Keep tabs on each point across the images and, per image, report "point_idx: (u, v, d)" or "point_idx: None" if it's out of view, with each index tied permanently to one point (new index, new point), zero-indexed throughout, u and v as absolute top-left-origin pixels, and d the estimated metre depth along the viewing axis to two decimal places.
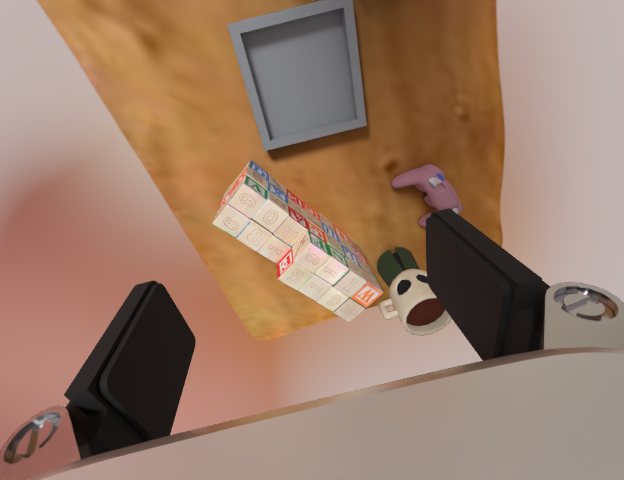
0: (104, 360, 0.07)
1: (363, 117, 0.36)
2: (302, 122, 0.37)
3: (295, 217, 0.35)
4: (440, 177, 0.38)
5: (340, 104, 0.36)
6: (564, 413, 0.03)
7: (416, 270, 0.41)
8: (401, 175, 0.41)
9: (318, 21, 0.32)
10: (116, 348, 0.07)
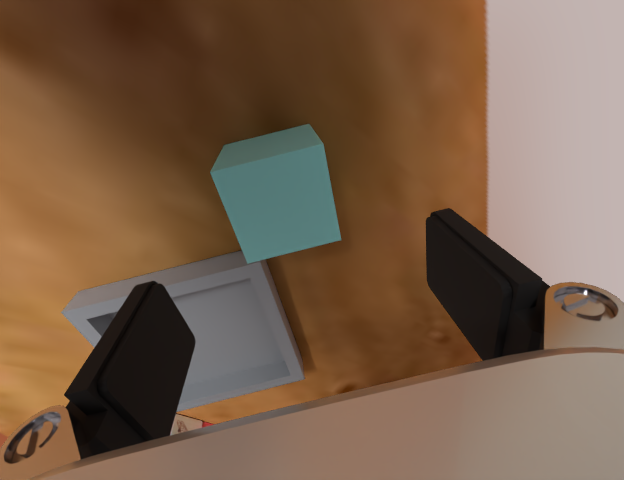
0: (104, 360, 0.07)
1: (298, 373, 0.25)
2: (214, 371, 0.26)
3: None
4: None
5: (266, 350, 0.25)
6: (564, 413, 0.03)
7: None
8: None
9: None
10: (116, 348, 0.07)
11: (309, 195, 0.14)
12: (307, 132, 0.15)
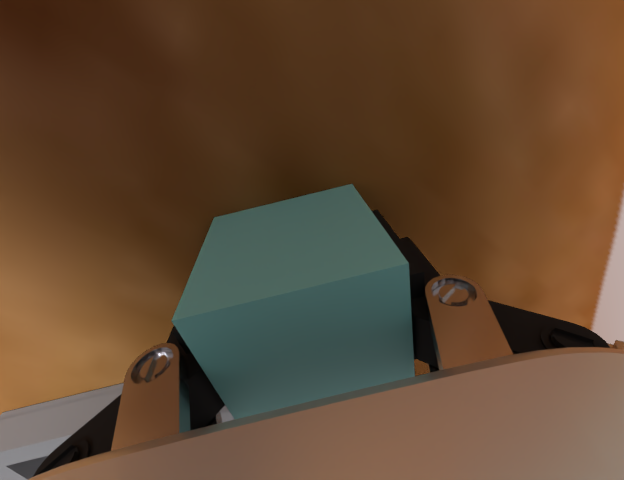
0: None
1: None
2: None
3: None
4: None
5: None
6: (565, 413, 0.03)
7: None
8: None
9: None
10: None
11: (367, 345, 0.07)
12: (357, 210, 0.08)
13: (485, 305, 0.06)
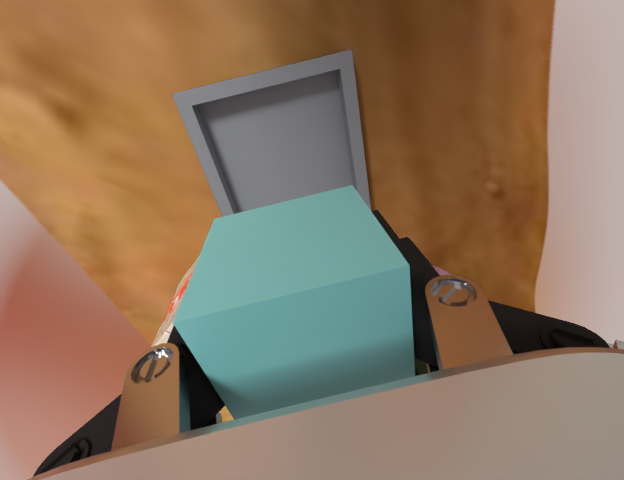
0: None
1: (367, 203, 0.27)
2: None
3: None
4: None
5: (336, 184, 0.27)
6: (564, 413, 0.03)
7: None
8: None
9: (305, 84, 0.23)
10: None
11: (369, 347, 0.07)
12: (357, 212, 0.08)
13: (485, 305, 0.06)
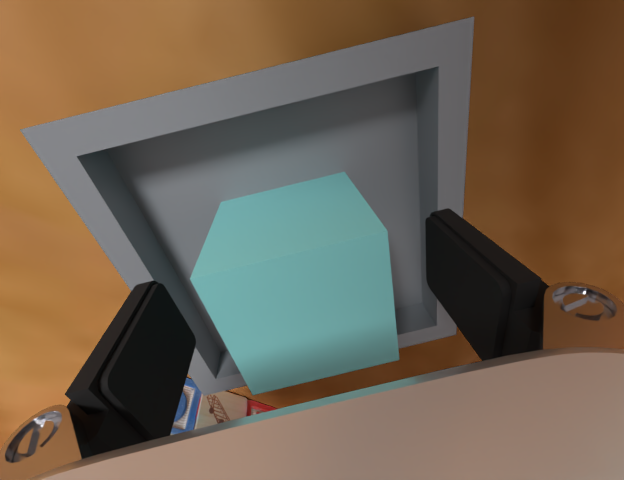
0: (105, 359, 0.07)
1: (451, 321, 0.14)
2: None
3: None
4: None
5: None
6: (564, 413, 0.03)
7: None
8: None
9: (345, 100, 0.10)
10: (117, 348, 0.07)
11: (355, 305, 0.08)
12: (347, 193, 0.10)
13: None
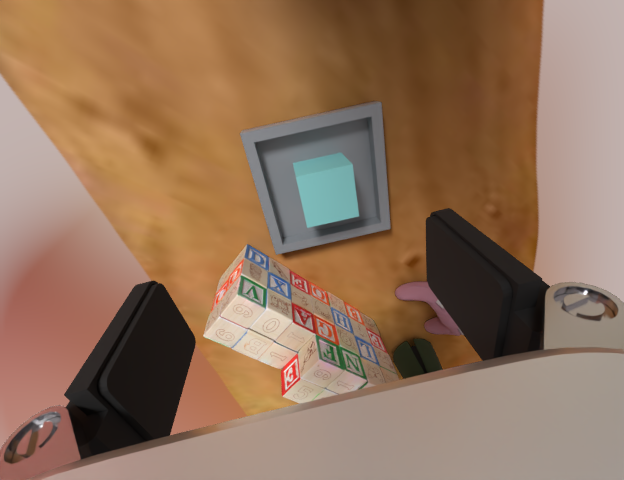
0: (104, 360, 0.07)
1: (387, 221, 0.32)
2: None
3: (300, 319, 0.30)
4: None
5: (361, 204, 0.33)
6: (564, 413, 0.03)
7: None
8: (406, 287, 0.38)
9: (341, 125, 0.28)
10: (116, 348, 0.07)
11: (343, 190, 0.26)
12: (342, 157, 0.28)
13: None
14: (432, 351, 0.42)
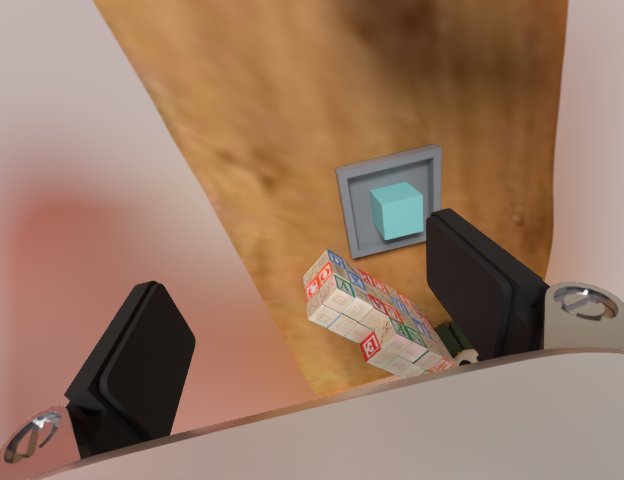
0: (104, 360, 0.07)
1: None
2: None
3: (376, 305, 0.39)
4: None
5: None
6: (564, 413, 0.03)
7: (475, 351, 0.47)
8: None
9: (408, 162, 0.38)
10: (116, 348, 0.07)
11: (414, 213, 0.36)
12: (410, 187, 0.37)
13: None
14: None
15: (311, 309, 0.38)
